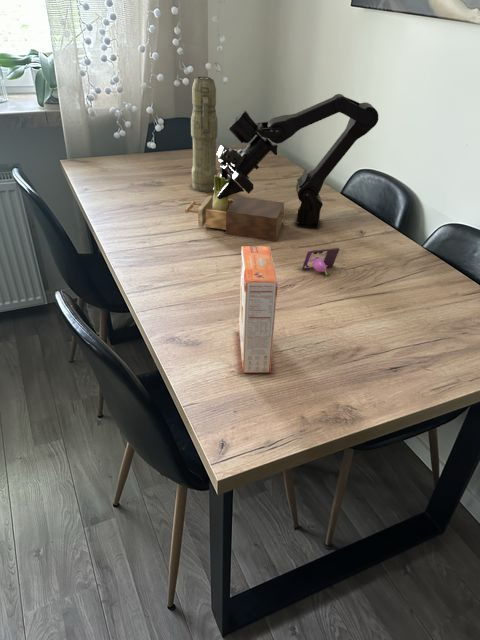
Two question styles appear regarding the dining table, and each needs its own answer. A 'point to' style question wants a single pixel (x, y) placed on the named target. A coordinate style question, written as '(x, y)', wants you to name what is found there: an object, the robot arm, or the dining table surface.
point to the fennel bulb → (218, 186)
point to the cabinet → (254, 218)
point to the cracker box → (257, 308)
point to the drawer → (209, 214)
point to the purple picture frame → (321, 263)
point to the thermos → (204, 133)
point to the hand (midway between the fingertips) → (215, 195)
